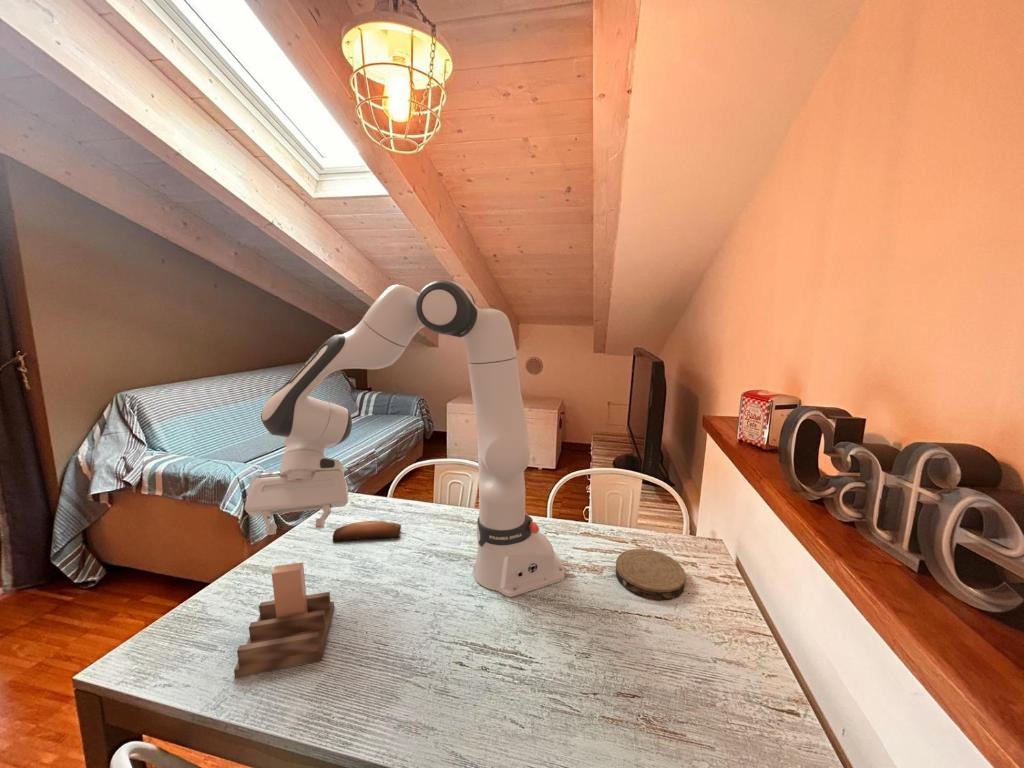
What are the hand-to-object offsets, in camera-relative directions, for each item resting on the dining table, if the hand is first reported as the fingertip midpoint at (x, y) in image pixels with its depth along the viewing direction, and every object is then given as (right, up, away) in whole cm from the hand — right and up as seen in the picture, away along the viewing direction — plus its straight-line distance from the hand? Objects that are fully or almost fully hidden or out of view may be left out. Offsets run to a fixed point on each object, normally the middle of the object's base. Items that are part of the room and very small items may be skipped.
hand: (295, 530), depth 86 cm
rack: (+2, -19, -7) cm, 20 cm away
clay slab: (+2, -17, -4) cm, 17 cm away
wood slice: (+79, -16, +12) cm, 82 cm away
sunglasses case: (+5, -13, +31) cm, 34 cm away
